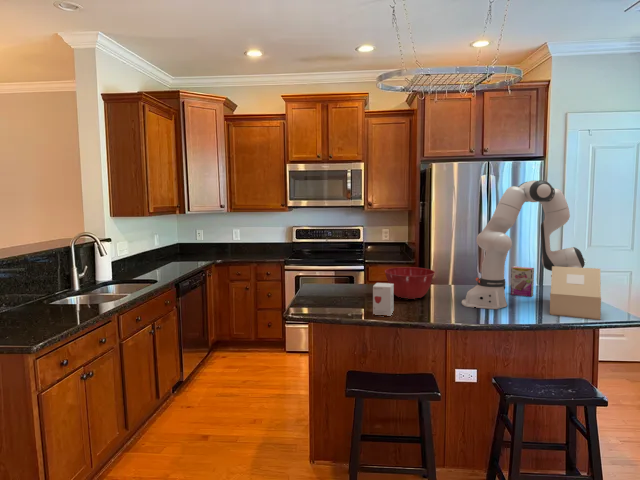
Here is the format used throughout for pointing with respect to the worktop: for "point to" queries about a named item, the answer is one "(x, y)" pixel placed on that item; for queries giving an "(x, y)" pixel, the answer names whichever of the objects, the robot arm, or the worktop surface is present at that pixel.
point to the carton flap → (576, 281)
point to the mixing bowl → (410, 281)
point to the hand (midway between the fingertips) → (575, 281)
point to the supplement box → (383, 299)
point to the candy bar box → (522, 281)
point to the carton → (575, 306)
